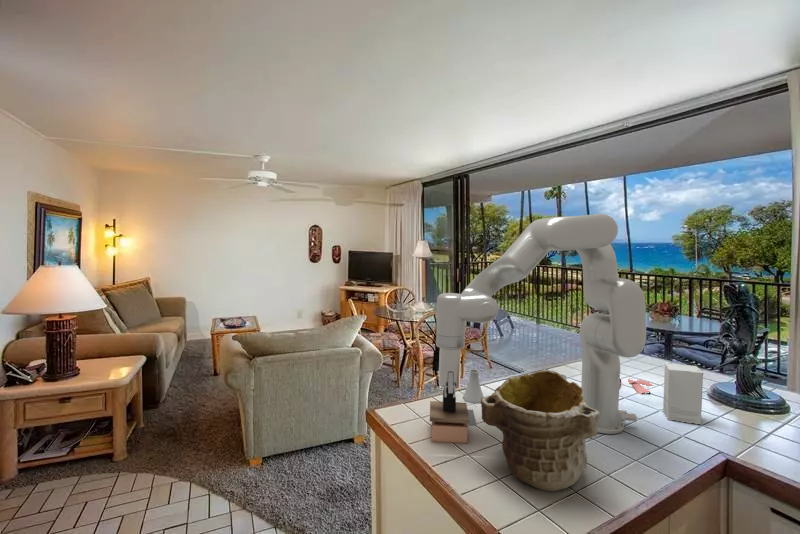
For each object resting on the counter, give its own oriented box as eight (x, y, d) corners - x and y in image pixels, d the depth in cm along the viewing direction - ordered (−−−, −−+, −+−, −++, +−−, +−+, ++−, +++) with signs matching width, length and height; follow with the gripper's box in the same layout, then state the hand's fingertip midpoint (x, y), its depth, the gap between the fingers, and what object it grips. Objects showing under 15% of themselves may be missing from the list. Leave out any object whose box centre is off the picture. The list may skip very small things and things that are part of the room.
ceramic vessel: (518, 490, 64) (488, 353, 79) (482, 499, 84) (464, 388, 98) (639, 481, 67) (589, 349, 81) (577, 492, 86) (545, 384, 101)
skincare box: (695, 416, 111) (698, 365, 110) (702, 426, 105) (705, 372, 104) (661, 411, 115) (664, 361, 114) (666, 420, 109) (669, 368, 108)
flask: (485, 406, 117) (485, 375, 116) (461, 404, 118) (462, 373, 118) (484, 396, 124) (485, 367, 123) (462, 395, 125) (463, 366, 125)
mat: (473, 410, 113) (473, 409, 113) (476, 427, 103) (476, 425, 103) (440, 409, 114) (440, 408, 114) (440, 425, 104) (440, 423, 104)
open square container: (464, 427, 103) (464, 411, 103) (467, 444, 94) (467, 427, 94) (431, 425, 104) (432, 409, 104) (431, 442, 95) (431, 425, 95)
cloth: (658, 384, 138) (659, 378, 138) (661, 406, 120) (661, 398, 120) (597, 373, 149) (597, 368, 149) (591, 391, 131) (591, 385, 131)
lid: (430, 404, 104) (430, 383, 104) (466, 406, 103) (466, 385, 103) (429, 421, 94) (430, 398, 94) (469, 423, 93) (470, 400, 93)
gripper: (435, 332, 106) (434, 395, 107) (436, 348, 90) (434, 422, 91) (462, 333, 105) (461, 396, 106) (467, 349, 89) (465, 424, 90)
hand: (449, 407), depth 99 cm, fingers closed on lid, 3 cm apart
